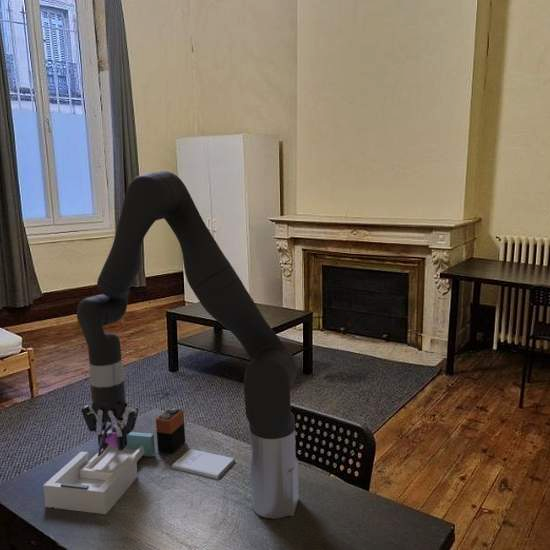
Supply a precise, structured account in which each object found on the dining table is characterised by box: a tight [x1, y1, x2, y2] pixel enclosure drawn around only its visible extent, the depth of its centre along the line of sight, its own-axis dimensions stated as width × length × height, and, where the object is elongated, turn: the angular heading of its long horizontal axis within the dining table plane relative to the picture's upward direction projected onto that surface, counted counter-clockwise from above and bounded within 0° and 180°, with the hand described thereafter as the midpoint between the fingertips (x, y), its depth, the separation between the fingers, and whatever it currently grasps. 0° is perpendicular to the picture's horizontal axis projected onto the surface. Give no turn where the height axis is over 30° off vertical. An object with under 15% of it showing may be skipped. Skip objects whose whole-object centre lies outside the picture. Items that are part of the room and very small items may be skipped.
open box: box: [43, 451, 138, 515], centre depth 114 cm, size 14×14×5 cm
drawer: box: [80, 429, 156, 481], centre depth 124 cm, size 14×14×5 cm
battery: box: [155, 406, 186, 455], centre depth 132 cm, size 4×7×10 cm, turn 159°
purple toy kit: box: [97, 420, 119, 456], centre depth 124 cm, size 7×5×9 cm
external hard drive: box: [171, 448, 236, 480], centre depth 124 cm, size 2×8×12 cm
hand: (113, 447), depth 123 cm, fingers closed on purple toy kit, 4 cm apart
